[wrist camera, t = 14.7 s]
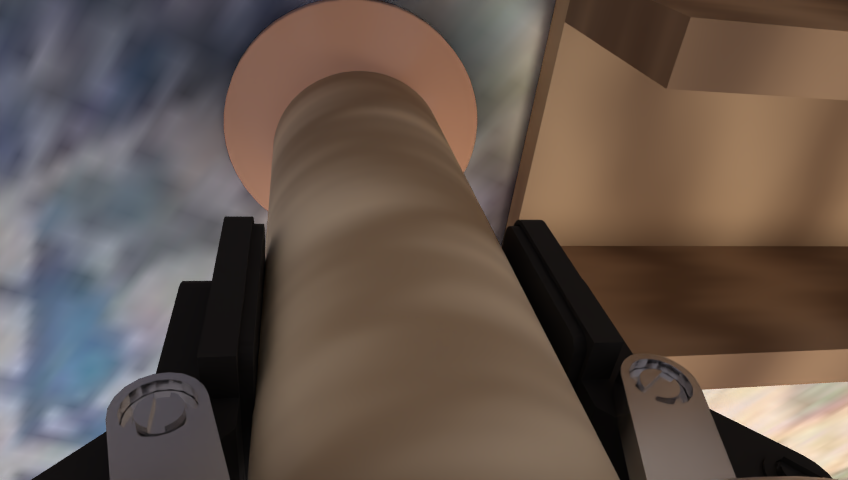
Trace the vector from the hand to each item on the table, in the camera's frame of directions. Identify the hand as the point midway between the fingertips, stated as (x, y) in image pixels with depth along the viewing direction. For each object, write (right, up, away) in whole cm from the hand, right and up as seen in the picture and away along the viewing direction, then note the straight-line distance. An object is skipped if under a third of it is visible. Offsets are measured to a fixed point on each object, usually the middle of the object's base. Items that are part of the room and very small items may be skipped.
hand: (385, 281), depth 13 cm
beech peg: (-1, +4, +5) cm, 6 cm away
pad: (-1, +5, +7) cm, 9 cm away
